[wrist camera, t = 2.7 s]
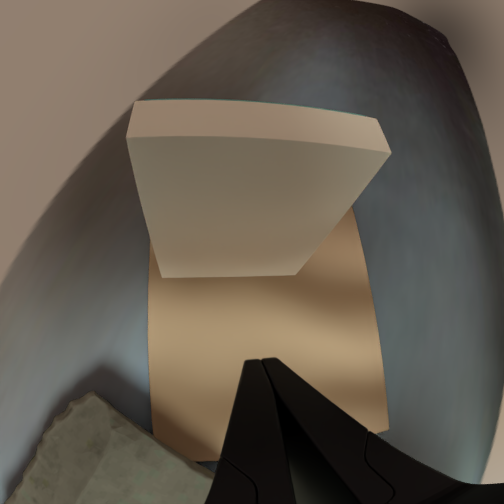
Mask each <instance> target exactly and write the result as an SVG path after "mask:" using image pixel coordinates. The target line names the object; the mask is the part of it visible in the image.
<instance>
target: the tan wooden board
mask: <svg viewBox="0 0 504 504" xmlns="http://www.w3.org/2000/svg"><path fill="white" fill-rule="evenodd" d="M148 356H149V382H150V400H151V415H152V427H153V436H154V437H155V438H157V439H158V440H160V441H161V442H163V443H164V444H166V445H168V446H169V447H171V448H172V449H174V450H175V451H177V452H179V453H180V454H182V455H184V456H185V457H187V458H189V459H190V460H192V461H194V462H198V461H219V458H220V454H221V450H222V446H223V443H224V439H225V435H226V431H227V427H228V423H229V419H230V415H231V411H232V407H233V403H234V399H235V395H236V391H237V387H238V383H239V379H240V375H241V371H242V367H243V363H244V361H245V360H247V359H260V360H261V359H262V358H270V357H276V358H278V359H279V360H281V361H282V362H283V363H284V364H285V365H287V366H288V367H289V368H290V369H292V370H293V371H294V372H295V373H296V374H298V375H299V376H300V377H301V378H303V379H304V380H305V381H306V382H308V383H309V384H310V385H311V386H313V387H314V388H315V389H316V390H318V391H319V392H320V393H321V394H323V395H324V396H325V397H326V398H328V399H329V400H330V401H332V402H333V403H334V404H335V405H337V406H338V407H339V408H341V409H342V410H343V411H345V412H346V413H347V414H349V415H350V416H351V417H353V418H354V419H355V420H357V421H358V422H359V423H361V424H362V425H363V426H365V427H366V428H367V429H368V431H372V432H373V433H374V434H376V433H380V432H383V431H386V430H389V421H388V409H387V398H386V388H385V379H384V370H383V362H382V355H381V348H380V341H379V334H378V328H377V321H376V315H375V310H374V304H373V298H372V293H371V288H370V283H369V278H368V273H367V268H366V263H365V258H364V254H363V249H362V245H361V241H360V236H359V232H358V228H357V224H356V220H355V216H354V212H353V208H352V206H351V207H350V208H349V209H348V211H347V212H346V213H345V215H344V216H343V217H342V218H341V220H340V221H339V222H338V223H337V225H336V226H335V227H334V228H333V230H332V231H331V232H330V233H329V235H328V236H327V237H326V238H325V240H324V241H323V242H322V243H321V245H320V246H319V247H318V248H317V250H316V251H315V252H314V253H313V254H312V256H311V257H310V258H309V259H308V261H307V262H306V263H305V264H304V265H303V267H302V268H301V269H300V270H299V271H298V273H297V274H296V275H286V276H248V277H194V278H162V276H161V273H160V270H159V266H158V263H157V260H156V256H155V253H154V250H153V246H152V243H151V239H150V257H149V284H148Z"/></svg>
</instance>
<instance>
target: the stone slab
mask: <svg viewBox="0 0 504 504" xmlns="http://www.w3.org/2000/svg"><path fill="white" fill-rule="evenodd" d="M214 475H215V473H214V472H212V471H210V470H209V469H207V468H205V467H203V466H201V465H199V464H197V463H196V462H194V461H192V460H190V459H189V458H187V457H185V456H184V455H182V454H180V453H179V452H177V451H175V450H174V449H172V448H171V447H169V446H168V445H166V444H164V443H163V442H161V441H160V440H158V439H157V438H155V437H154V436H153V435H152V434H151V433H149V432H148V431H146V430H145V429H143V428H142V427H140V426H139V425H138V424H136V423H135V422H134V421H132V420H131V419H129V418H127V417H126V416H124V415H123V414H122V413H120V412H119V411H118V410H116V409H115V408H114V407H113V406H112V405H111V404H110V403H109V402H108V401H106V400H105V399H104V398H102V397H101V396H99V395H98V394H97V393H96V392H95V391H90V392H88V393H87V394H86V395H84V396H83V397H81V398H79V399H75V400H72V401H70V402H69V404H68V406H67V409H66V410H65V411H64V412H62V413H61V414H59V415H57V416H55V417H54V420H53V422H52V424H51V426H50V427H49V428H48V429H47V430H46V431H45V432H44V433H43V438H42V440H41V441H40V442H39V444H38V446H37V451H36V454H35V456H34V457H33V459H32V460H31V461H30V463H29V464H28V466H27V468H26V470H25V471H24V472H23V480H22V481H21V482H20V483H19V484H18V485H17V486H16V488H15V491H14V492H13V494H12V495H11V497H10V498H8V499H7V500H6V501H5V503H4V504H204V503H205V500H206V498H207V496H208V493H209V491H210V488H211V485H212V482H213V479H214Z"/></svg>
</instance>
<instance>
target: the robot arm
mask: <svg viewBox="0 0 504 504" xmlns="http://www.w3.org/2000/svg"><path fill="white" fill-rule="evenodd" d="M204 504H504V483H497V484H470V483H465V482H461V481H458V480H456V479H453V478H451V477H449V476H447V475H445V474H443V473H441V472H439V471H437V470H435V469H433V468H431V467H429V466H427V465H425V464H423V463H421V462H419V461H417V460H415V459H413V458H412V457H410V456H408V455H406V454H405V453H403V452H401V451H399V450H398V449H396V448H395V447H393V446H392V445H390V444H389V443H387V442H386V441H384V440H383V439H381V438H380V437H378V436H377V435H376V434H374V433H373V432H372V431H368V429H367V428H366V427H365V426H363V425H362V424H361V423H359V422H358V421H357V420H355V419H354V418H353V417H351V416H350V415H349V414H347V413H346V412H345V411H343V410H342V409H341V408H339V407H338V406H337V405H335V404H334V403H333V402H332V401H330V400H329V399H328V398H326V397H325V396H324V395H323V394H321V393H320V392H319V391H318V390H316V389H315V388H314V387H313V386H311V385H310V384H309V383H308V382H306V381H305V380H304V379H303V378H301V377H300V376H299V375H298V374H296V373H295V372H294V371H293V370H292V369H290V368H289V367H288V366H287V365H285V364H284V363H283V362H282V361H281V360H279V359H278V358H276V357H270V358H262V359H261V360H260V359H247V360H245V361H244V363H243V367H242V371H241V375H240V379H239V383H238V387H237V391H236V395H235V399H234V403H233V407H232V411H231V415H230V419H229V423H228V427H227V431H226V435H225V439H224V443H223V446H222V450H221V454H220V458H219V461H218V465H217V469H216V472H215V475H214V479H213V482H212V485H211V488H210V491H209V493H208V496H207V498H206V500H205V503H204Z"/></svg>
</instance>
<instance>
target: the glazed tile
mask: <svg viewBox="0 0 504 504" xmlns="http://www.w3.org/2000/svg"><path fill="white" fill-rule="evenodd" d="M126 141H127V146H128V150H129V155H130V160H131V164H132V169H133V173H134V177H135V181H136V186H137V190H138V194H139V198H140V202H141V206H142V209H143V213H144V217H145V221H146V225H147V228H148V232H149V235H150V239H151V243H152V246H153V250H154V253H155V256H156V260H157V263H158V266H159V270H160V273H161V276H162V278H194V277H248V276H286V275H296V274H297V273H298V271H299V270H300V269H301V268H302V267H303V265H304V264H305V263H306V262H307V261H308V259H309V258H310V257H311V256H312V254H313V253H314V252H315V251H316V250H317V248H318V247H319V246H320V245H321V243H322V242H323V241H324V240H325V238H326V237H327V236H328V235H329V233H330V232H331V231H332V230H333V228H334V227H335V226H336V225H337V223H338V222H339V221H340V220H341V218H342V217H343V216H344V215H345V213H346V212H347V211H348V209H349V208H350V207H351V206H352V204H353V203H354V202H355V201H356V199H357V198H358V197H359V195H360V194H361V193H362V191H363V190H364V189H365V188H366V186H367V185H368V184H369V182H370V181H371V180H372V178H373V177H374V176H375V174H376V173H377V172H378V170H379V169H380V168H381V166H382V165H383V164H384V162H385V161H386V160H387V158H388V157H389V156H390V154H391V151H390V148H389V146H388V143H387V141H386V139H385V136H384V134H383V132H382V130H381V127H380V125H379V123H378V121H377V119H375V118H370V117H366V116H365V115H360V114H354V113H348V112H343V111H337V110H330V109H324V108H317V107H309V106H301V105H293V104H283V103H273V102H261V101H247V100H229V99H146V100H144V101H135V103H134V106H133V110H132V114H131V118H130V122H129V126H128V131H127V135H126Z"/></svg>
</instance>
